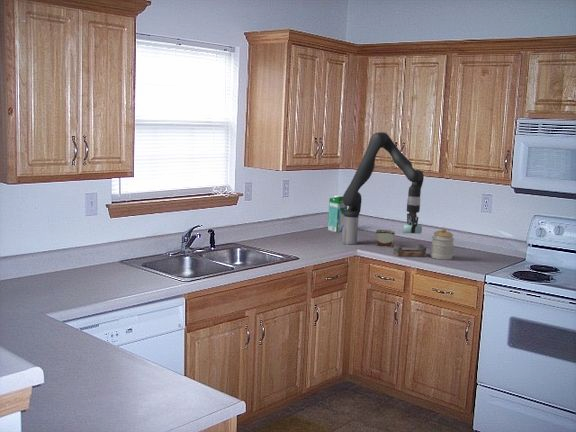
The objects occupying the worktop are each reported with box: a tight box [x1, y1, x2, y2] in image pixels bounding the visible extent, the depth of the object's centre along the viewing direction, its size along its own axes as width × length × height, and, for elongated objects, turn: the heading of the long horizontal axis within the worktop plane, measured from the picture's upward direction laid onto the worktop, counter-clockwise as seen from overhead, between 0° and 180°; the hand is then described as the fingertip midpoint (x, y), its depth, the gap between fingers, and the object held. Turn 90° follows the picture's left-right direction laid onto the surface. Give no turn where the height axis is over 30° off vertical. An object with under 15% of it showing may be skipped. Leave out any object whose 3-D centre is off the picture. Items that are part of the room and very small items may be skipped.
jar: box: [430, 227, 455, 261], centre depth 394 cm, size 13×13×18 cm
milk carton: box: [327, 195, 348, 233], centre depth 464 cm, size 9×9×25 cm
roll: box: [402, 224, 423, 235], centre depth 395 cm, size 10×5×5 cm
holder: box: [392, 243, 427, 258], centre depth 397 cm, size 17×9×6 cm, turn 98°
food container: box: [374, 229, 396, 248], centre depth 421 cm, size 12×6×10 cm, turn 84°
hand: (411, 232), depth 395 cm, fingers closed on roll, 5 cm apart
